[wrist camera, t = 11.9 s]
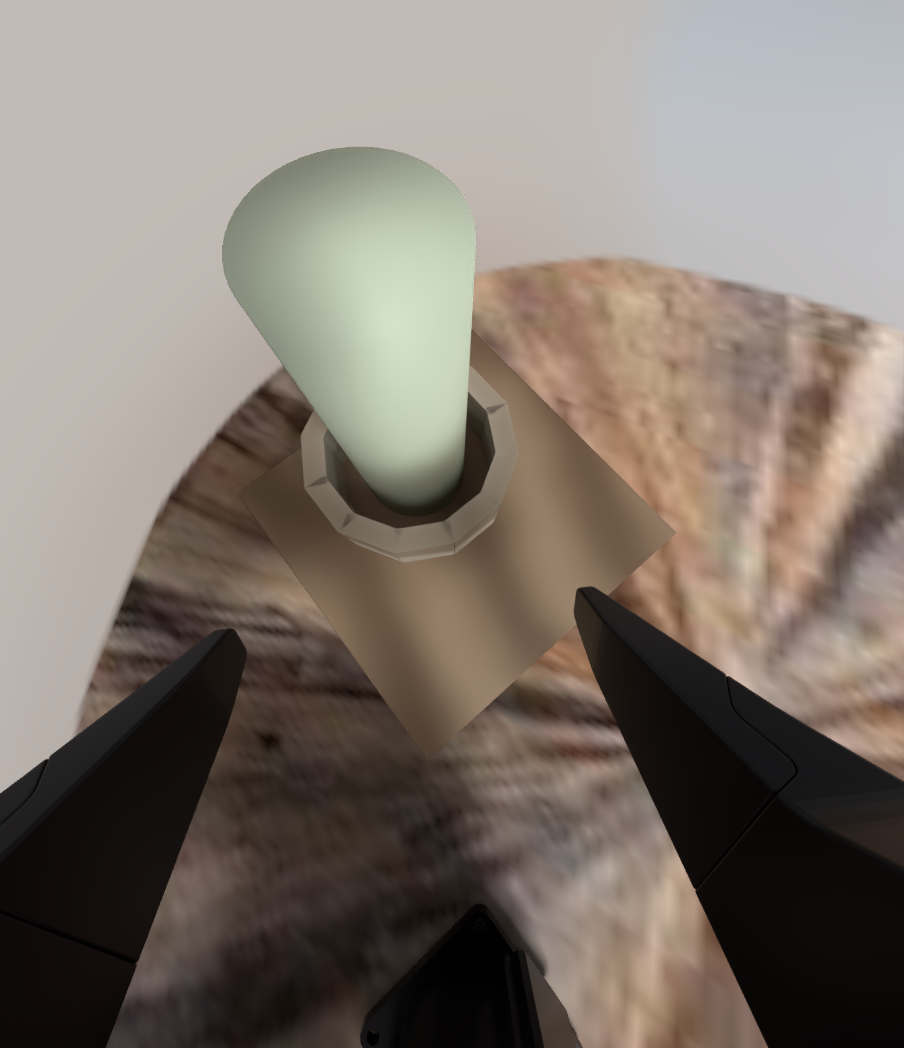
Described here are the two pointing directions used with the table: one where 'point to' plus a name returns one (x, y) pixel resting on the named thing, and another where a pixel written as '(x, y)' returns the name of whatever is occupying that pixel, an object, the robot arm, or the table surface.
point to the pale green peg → (367, 308)
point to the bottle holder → (458, 552)
